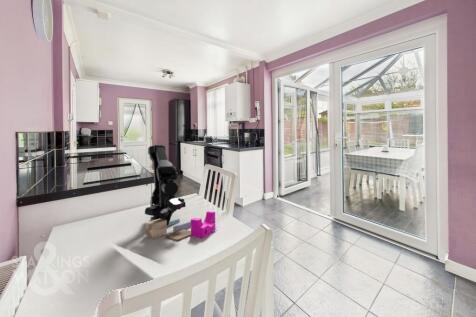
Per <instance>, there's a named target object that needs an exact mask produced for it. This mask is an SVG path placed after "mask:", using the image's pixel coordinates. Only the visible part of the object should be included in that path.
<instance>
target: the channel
mask: <svg viewBox="0 0 476 317" xmlns="http://www.w3.org/2000/svg"><path fill="white" fill-rule="evenodd" d="M180 221H181V218H174V219H170V222H169V225H168V226H167V228H168V227H171V226H172V227H173V228H172V231H173V232H172V233H174V232H176V231H179V230H182V229H185V230H186V229H187V228H191V220H187V221H185V222H182V223H180ZM177 223H179V224H177ZM175 224H177V225H175ZM173 225H174V226H173Z"/></svg>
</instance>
